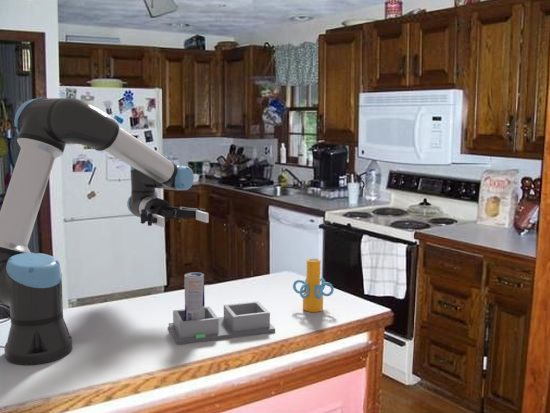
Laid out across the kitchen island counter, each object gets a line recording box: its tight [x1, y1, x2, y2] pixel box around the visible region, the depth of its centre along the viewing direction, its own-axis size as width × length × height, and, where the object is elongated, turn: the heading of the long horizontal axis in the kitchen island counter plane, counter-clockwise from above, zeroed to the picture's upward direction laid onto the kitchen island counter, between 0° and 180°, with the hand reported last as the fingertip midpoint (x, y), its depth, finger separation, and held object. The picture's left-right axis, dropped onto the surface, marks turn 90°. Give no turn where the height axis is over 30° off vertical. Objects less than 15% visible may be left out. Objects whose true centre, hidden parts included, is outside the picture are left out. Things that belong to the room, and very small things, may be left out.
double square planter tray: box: [168, 300, 276, 346], centre depth 155 cm, size 26×13×5 cm, turn 110°
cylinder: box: [292, 257, 335, 313], centre depth 171 cm, size 12×10×15 cm
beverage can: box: [183, 271, 206, 321], centre depth 151 cm, size 5×5×15 cm
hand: (185, 220), depth 162 cm, fingers open, 13 cm apart
